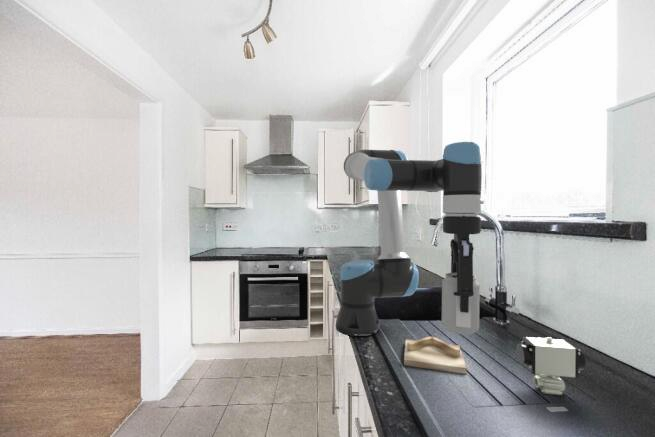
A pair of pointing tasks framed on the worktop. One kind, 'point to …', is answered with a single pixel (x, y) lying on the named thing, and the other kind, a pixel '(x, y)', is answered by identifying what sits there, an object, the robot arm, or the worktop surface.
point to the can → (450, 305)
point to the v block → (434, 355)
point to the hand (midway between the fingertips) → (460, 319)
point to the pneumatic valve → (550, 362)
